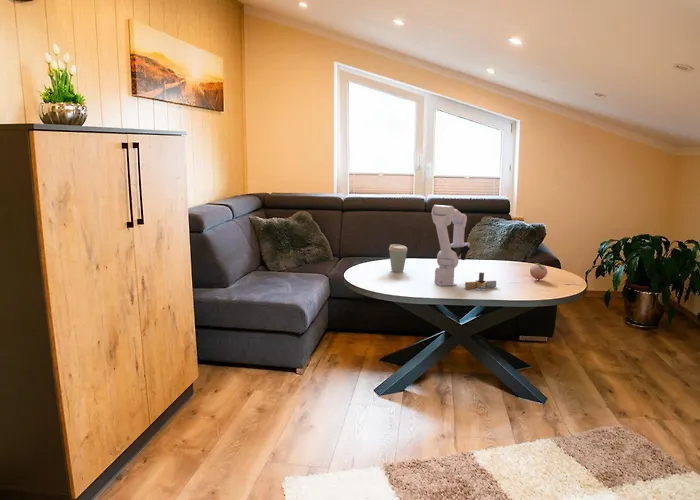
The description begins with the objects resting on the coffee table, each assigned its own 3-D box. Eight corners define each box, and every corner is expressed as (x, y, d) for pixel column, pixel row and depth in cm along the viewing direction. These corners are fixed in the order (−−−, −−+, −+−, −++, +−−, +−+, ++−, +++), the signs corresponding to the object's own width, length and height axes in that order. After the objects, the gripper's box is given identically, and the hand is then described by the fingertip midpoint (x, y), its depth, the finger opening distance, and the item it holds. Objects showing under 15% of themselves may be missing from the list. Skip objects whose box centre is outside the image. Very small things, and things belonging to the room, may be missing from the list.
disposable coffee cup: (406, 269, 320) (407, 244, 316) (406, 274, 309) (407, 247, 306) (388, 268, 321) (389, 243, 318) (387, 273, 310) (388, 247, 307)
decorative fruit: (525, 278, 304) (527, 260, 302) (538, 277, 306) (539, 260, 304) (536, 283, 295) (537, 264, 293) (549, 282, 297) (550, 264, 295)
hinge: (467, 290, 278) (468, 283, 278) (463, 287, 284) (463, 280, 283) (498, 288, 282) (498, 282, 282) (493, 285, 288) (493, 279, 287)
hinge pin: (479, 288, 282) (480, 273, 280) (477, 287, 284) (478, 272, 282) (483, 288, 282) (484, 273, 281) (481, 287, 284) (482, 272, 283)
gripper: (452, 237, 290) (451, 263, 293) (474, 236, 297) (472, 260, 300) (444, 235, 296) (443, 260, 299) (465, 233, 303) (464, 258, 306)
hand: (457, 260), depth 300 cm, fingers open, 7 cm apart
